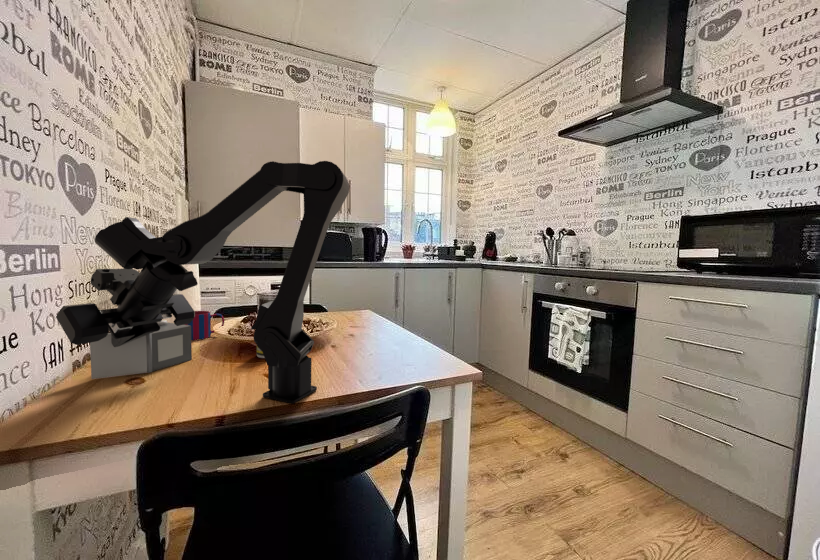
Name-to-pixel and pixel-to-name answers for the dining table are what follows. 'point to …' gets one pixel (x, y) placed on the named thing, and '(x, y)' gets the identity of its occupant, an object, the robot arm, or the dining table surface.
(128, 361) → the side door
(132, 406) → the dining table surface
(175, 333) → the camera body
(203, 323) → the mug
